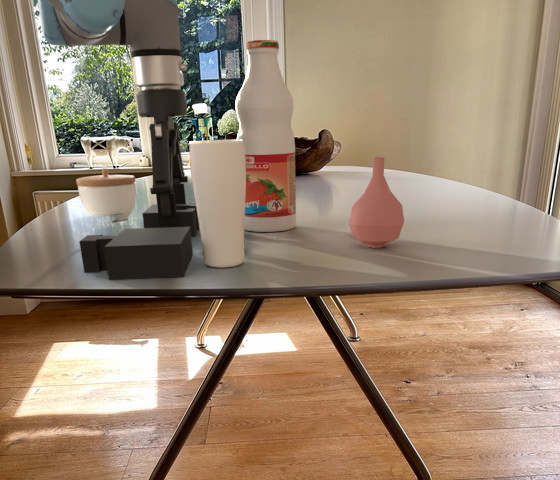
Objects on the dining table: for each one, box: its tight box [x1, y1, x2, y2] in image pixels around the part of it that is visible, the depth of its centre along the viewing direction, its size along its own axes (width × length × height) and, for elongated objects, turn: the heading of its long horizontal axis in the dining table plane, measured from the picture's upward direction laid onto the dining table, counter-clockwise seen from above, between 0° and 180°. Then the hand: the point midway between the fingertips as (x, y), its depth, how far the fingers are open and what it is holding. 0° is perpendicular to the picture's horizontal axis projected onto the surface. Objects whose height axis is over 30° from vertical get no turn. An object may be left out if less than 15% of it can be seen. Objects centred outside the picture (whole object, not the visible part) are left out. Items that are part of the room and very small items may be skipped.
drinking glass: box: [188, 139, 246, 269], centre depth 75 cm, size 7×7×15 cm
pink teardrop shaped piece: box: [348, 156, 405, 249], centre depth 83 cm, size 8×8×12 cm
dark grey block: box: [141, 202, 200, 238], centre depth 100 cm, size 8×10×4 cm
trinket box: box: [75, 167, 137, 223], centre depth 113 cm, size 11×11×9 cm
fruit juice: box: [235, 39, 297, 233], centre depth 96 cm, size 9×9×28 cm
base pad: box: [78, 227, 194, 281], centre depth 77 cm, size 13×12×4 cm
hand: (175, 228), depth 100 cm, fingers open, 13 cm apart
